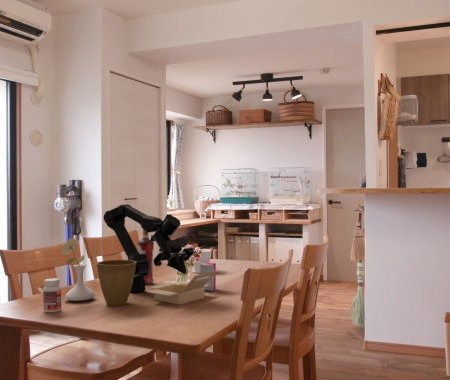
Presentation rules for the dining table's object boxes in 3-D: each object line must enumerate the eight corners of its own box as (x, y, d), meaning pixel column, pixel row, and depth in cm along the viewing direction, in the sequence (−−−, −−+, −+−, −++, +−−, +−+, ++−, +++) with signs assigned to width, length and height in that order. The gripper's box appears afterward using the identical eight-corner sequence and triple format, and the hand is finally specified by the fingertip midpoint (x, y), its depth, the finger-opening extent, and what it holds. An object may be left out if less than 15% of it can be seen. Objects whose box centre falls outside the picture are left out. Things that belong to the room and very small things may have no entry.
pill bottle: (60, 312, 184) (60, 280, 184) (42, 313, 183) (42, 281, 183) (62, 308, 190) (61, 277, 190) (44, 309, 189) (44, 278, 189)
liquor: (135, 283, 237) (134, 222, 236) (149, 281, 241) (148, 221, 241) (142, 285, 231) (141, 223, 231) (157, 283, 235) (156, 222, 235)
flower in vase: (86, 295, 211) (85, 235, 211) (100, 299, 203) (99, 236, 203) (56, 300, 202) (55, 237, 202) (70, 305, 194) (69, 239, 194)
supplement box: (213, 291, 216) (212, 264, 216) (199, 291, 217) (199, 264, 217) (216, 289, 222) (215, 262, 222) (202, 288, 223) (202, 262, 223)
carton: (136, 300, 201) (135, 289, 201) (178, 290, 220) (178, 280, 220) (171, 307, 189) (170, 295, 189) (212, 295, 208) (212, 285, 208)
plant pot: (125, 309, 187) (124, 265, 187) (89, 307, 191) (88, 264, 191) (143, 300, 201) (143, 259, 201) (109, 298, 205) (109, 258, 205)
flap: (181, 291, 194) (194, 275, 190) (202, 285, 203) (215, 271, 199) (182, 292, 194) (195, 277, 189) (203, 287, 203) (216, 272, 199)
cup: (190, 269, 273) (190, 248, 273) (213, 269, 272) (213, 249, 272) (185, 273, 261) (185, 251, 261) (209, 273, 259) (209, 252, 259)
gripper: (158, 231, 196) (179, 263, 190) (191, 228, 211) (211, 257, 204) (144, 250, 201) (164, 281, 195) (177, 245, 216) (197, 274, 209)
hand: (185, 273), depth 201 cm, fingers closed
